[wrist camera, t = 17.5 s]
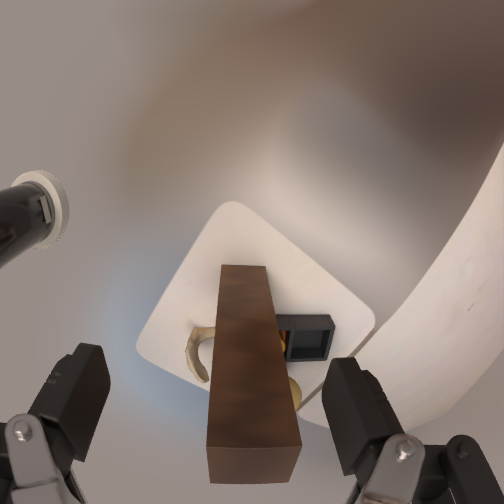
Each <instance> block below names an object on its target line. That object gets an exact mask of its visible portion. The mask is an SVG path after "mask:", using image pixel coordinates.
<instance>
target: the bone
mask: <svg viewBox="0 0 504 504" xmlns="http://www.w3.org/2000/svg"><path fill="white" fill-rule="evenodd" d="M214 337H215V328H194V329H193V331H192V333H191V335H190V337H189V339H188V343H187V347H186V350H185V353H186V359H187V365H188V367H189V369H190V371H191V372H192V373H193V374H194V376H195V378H196V379H197V380H198V381H200V382H201V383H206V382H207V381H209V376H208V373H207V371H206V369H205V367H204V366H203V365H202V364H201V362H200V360H199V357H198V347H199V345H200V343H201V342H202V341H204V340H205V339H208V338H214Z"/></svg>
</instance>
